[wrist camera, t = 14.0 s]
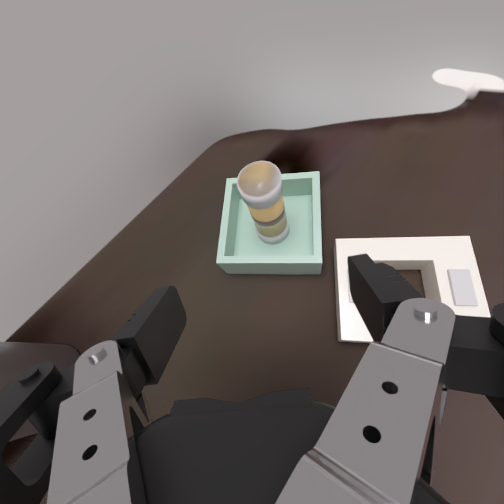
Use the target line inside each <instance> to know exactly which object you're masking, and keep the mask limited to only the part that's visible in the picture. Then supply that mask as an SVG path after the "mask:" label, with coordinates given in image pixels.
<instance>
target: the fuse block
mask: <svg viewBox="0 0 504 504" xmlns="http://www.w3.org/2000/svg"><path fill="white" fill-rule="evenodd" d="M333 252H334V272H335V292H336V312H337V332H338V341H341V342H357V343H371V342H372V341H373V339H372V337H371V335H370V333H369V331H368V329H367V327H366V325H365V323H364V321H363V319H362V318H361V316H360V314H359V312H358V310H357V308H356V306H355V304H354V302H353V300H352V297H351V292H350V285H349V274H348V263H347V258H348V256H354V255H360V254H365V253H366V254H368V256H369V257H370V258H371V259H372V260H373V261H374V262H375V263H381V262H382V263H385V264H387V265H389V266H392V267H393V268H394V269H395V270H421V275H422V281H423V286H424V292H425V298H427V299H432V300H436V301H439V302H442V303H444V304H446V305H447V306H449V307H450V308H451V309H452V310H453V311H454V313H455V314H456V315H462V316H476V317H491V316H490V313H489V309H488V305H487V301H486V297H485V293H484V290H483V286H482V282H481V278H480V274H479V271H478V267H477V263H476V259H475V255H474V252H473V248H472V244H471V240H470V236H446V237H400V238H354V239H336V240H335V245H334V249H333Z"/></svg>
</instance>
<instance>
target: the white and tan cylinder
mask: <svg viewBox="0 0 504 504" xmlns="http://www.w3.org/2000/svg"><path fill="white" fill-rule="evenodd" d="M237 187H238V190H239V192H240V194H241V197H242V199H243V201H244V202H245V204H246V205H247V207H248V209H249V211H250V214H251V217H252V219H253V221H254V223H255V229H256V231H257V233H258V236H259V238H260V239H261V240H262V241H263V242H264V243H266V244H270V245H275V244H279V243H281V242H283V241H284V240H285V239H286V238H287V236H288V234H289V223H288V218H287V216H286V213H285V206H284V201H283V195H282V193H283V185H282V179H281V173H280V170H279V169H278V167H277V166H276V165H274V164H273V163H271V162H268V161H256V162H253V163H251V164H249V165H247V166H246V167H244V168H243V169H242V170H241V172H240V173H239V175H238V177H237Z"/></svg>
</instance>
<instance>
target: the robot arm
mask: <svg viewBox="0 0 504 504" xmlns="http://www.w3.org/2000/svg"><path fill="white" fill-rule="evenodd" d="M347 263H348V274H349V285H350V292H351V297H352V300H353V302H354V304H355V306H356V308H357V310H358V312H359V314H360V316H361V318H362V319H363V321H364V323H365V325H366V327H367V329H368V331H369V333H370V335H371V337H372V339H373V341H372V342H371V343H370V345H369V346H368V348H367V350H366V352H365V354H364V356H363V358H362V360H361V361H360V363H359V365H358V367H357V369H356V371H355V373H354V375H353V376H352V378H351V380H350V382H349V384H348V386H347V388H346V390H345V391H344V393H343V395H342V397H341V399H340V401H339V403H338V405H337V406H336V407H333V406H331V405H329V404H326V403H322V402H319V401H313V400H311V395H310V390H309V388H305V389H294V390H284V391H274V392H271V393H268V394H265V395H262V396H259V397H256V398H253V399H250V400H247V401H244V402H241V403H232V402H226V401H221V400H215V399H209V398H199V399H188V400H178V401H174V404H173V407H172V409H171V412H170V414H167V415H165V416H163V417H161V418H159V419H157V420H155V421H154V422H152V419H151V416H150V412H149V408H148V405H147V401H146V397H145V395H144V393H143V391H142V389H143V387H144V385H153V384H158V382H159V380H160V378H161V376H162V374H163V372H164V369H165V367H166V365H167V363H168V361H169V359H170V357H171V355H172V353H173V351H174V348H175V346H176V344H177V342H178V340H179V338H180V336H181V334H182V332H183V330H184V327H185V325H186V313H185V310H184V307H183V305H182V302H181V300H180V297H179V294H178V292H177V290H176V288H175V287H174V286H167V287H161V288H157V289H156V290H155V291H154V292H153V294H152V295H151V296H150V297H149V299H148V300H147V301H146V302H144V303H143V304H142V305H140V306H139V307H138V308H137V310H136V311H135V312H134V313H133V316H131V317H130V318H129V319H128V322H126V323H125V324H124V325H123V327H122V328H121V329H120V330H119V332H118V333H117V334H116V335H115V336H114V338H113V339H112V340H110V341H104V342H101V343H99V344H96V345H95V346H93V347H91V348H89V349H88V350H87V351H85V352H84V353H83V354H82V355H81V356H80V355H79V353H78V352H77V350H75V349H74V348H73V347H71V346H68V345H65V344H43V343H21V342H0V504H39V503H40V502H41V500H42V498H43V497H44V495H45V493H46V492H47V490H48V489H49V491H48V498H47V504H450V503H448V502H447V501H446V500H445V499H444V498H443V497H442V496H441V495H439V494H438V493H437V492H436V491H435V490H434V489H433V488H432V482H433V476H434V470H435V464H436V457H437V449H438V443H439V437H440V432H441V427H442V422H443V416H444V411H445V406H446V401H447V395H448V390H449V389H452V390H458V391H464V392H470V393H475V394H481V395H485V396H486V397H487V399H488V400H489V401H490V402H491V404H492V405H493V406H494V408H495V409H496V410H497V411H498V413H499V414H500V415H501V417H502V418H503V419H504V303H501V304H498V305H496V306H495V307H494V308H493V309H492V315H491V317H476V316H462V315H456V314H455V313H454V311H453V310H452V309H451V308H450V307H449V306H447V305H446V304H444V303H442V302H439V301H436V300H432V299H427V298H423V297H422V296H421V295H420V294H419V293H418V292H417V291H416V290H415V289H414V288H413V287H412V286H411V285H410V284H409V283H408V282H407V281H405V279H404V278H403V277H402V276H401V275H400V274H399V273H398V272H397V271H396V270H395V269H394V268H393V267H392V266H389V265H387V264H385V263H382V262H381V263H375V262H374V261H373V260H372V259H371V258H370V257H369V256H368V254H366V253H365V254H360V255H354V256H348V258H347ZM36 433H38V434H37V436H36V437H35V438H34V440H33V441H32V442H31V444H30V445H29V446H28V448H27V449H26V450H25V451H24V453H23V454H22V455H21V457H20V458H19V459H18V461H17V462H16V463H15V465H14V466H13V467H12V469H11V470H10V469H9V468H8V467H7V466H6V465H5V464H4V462H3V459H2V455H3V451H4V448H5V446H6V445H7V443H8V442H9V441H12V440H16V439H19V438H22V437H26V436H29V435H33V434H36Z"/></svg>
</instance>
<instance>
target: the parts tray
mask: <svg viewBox="0 0 504 504" xmlns="http://www.w3.org/2000/svg"><path fill="white" fill-rule="evenodd" d="M281 179H282V185H283V193H282V195H283V201H284V206H285V213H286V216H287V218H288V223H289V234H288V236H287V238H286V239H285V240H284V241H283V242H281V243H279V244H275V245H270V244H266V243H264V242H263V241H262V240H261V239H260V238H259V236H258V233H257V231H256V229H255V223H254V221H253V219H252V217H251V214H250V211H249V209H248V207H247V205H246V204H245V202H244V201H243V199H242V197H241V194H240V192H239V190H238V187H237V178H228V179H227V182H226V190H225V198H224V206H223V213H222V221H221V229H220V237H219V245H218V253H217V261H216V263H217V264H218V265H219V266H220V267H221V268H222V269H223V270H224V271H225V272H226V273H227V274H315V275H321V268H322V240H321V208H320V177H319V171H317V172H304V173H291V174H281Z"/></svg>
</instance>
